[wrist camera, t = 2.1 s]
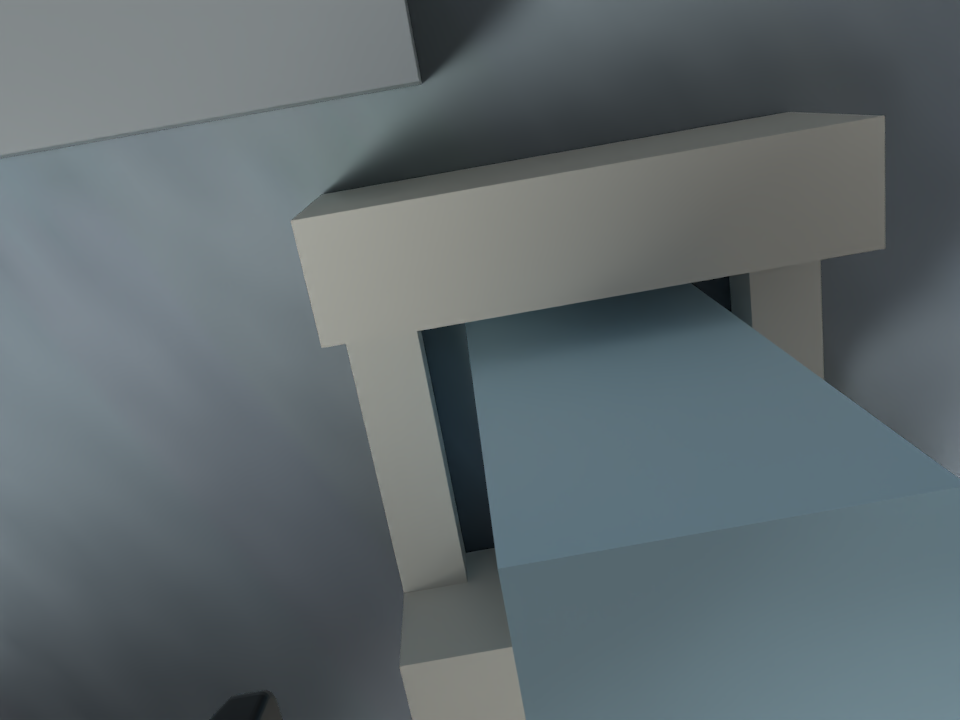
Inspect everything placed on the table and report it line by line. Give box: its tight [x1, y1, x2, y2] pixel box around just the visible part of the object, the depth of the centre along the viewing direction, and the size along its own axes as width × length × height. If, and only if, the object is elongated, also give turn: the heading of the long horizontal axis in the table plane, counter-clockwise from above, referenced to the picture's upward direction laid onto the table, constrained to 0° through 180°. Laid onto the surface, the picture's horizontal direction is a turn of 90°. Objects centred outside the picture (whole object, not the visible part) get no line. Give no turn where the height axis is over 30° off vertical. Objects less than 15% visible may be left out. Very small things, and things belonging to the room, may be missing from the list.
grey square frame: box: [291, 112, 885, 720], centre depth 13 cm, size 8×9×3 cm
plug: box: [465, 283, 960, 720], centre depth 11 cm, size 4×4×8 cm
